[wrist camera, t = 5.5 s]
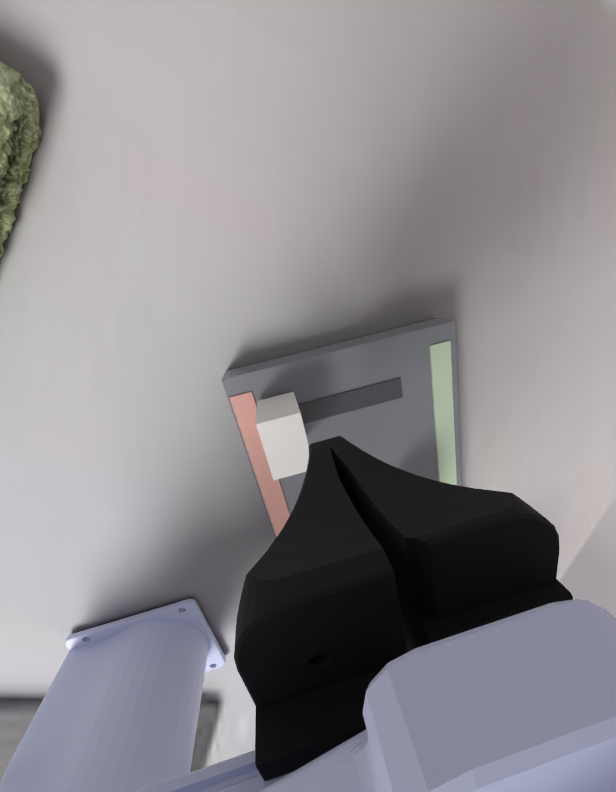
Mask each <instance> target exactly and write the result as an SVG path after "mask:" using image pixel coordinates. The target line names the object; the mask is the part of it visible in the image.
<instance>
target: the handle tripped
mask: <svg viewBox="0 0 616 792" xmlns="http://www.w3.org/2000/svg"><path fill="white" fill-rule="evenodd" d="M256 426H257V430H258V433H259V436H260V439H261V442H262V445H263V449H264V452H265V455H266V458H267V461H268V464H269V468H270V471H271V474H272V477H273V480H278V479H281V478H285V477H288V476H292V475H295V474H299V473H303V472H306V470H307V465H308V459H309V448H308V447H309V444H308V440H307V436H306V432H305V428H304V424H303V420H302V416H301V413H300V409H299V406H298V403H297V400H296V397H295V394H294V392H290V393H286V394H282V395H278V396H274V397H271V398H267V399H263V400H259V401H257V411H256Z"/></svg>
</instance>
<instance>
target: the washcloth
mask: <svg viewBox="0 0 616 792" xmlns="http://www.w3.org/2000/svg"><path fill="white" fill-rule="evenodd" d="M39 115H40V112H39V102H38V100H37V96H36V94H35V91H34V89H33V88H32V86H31V85H30V83H28V82H26V81H25V80H24V79H23V77H22V76H21V75H20V73H19V72H17V71H15V70H14V69H12V68H11V67H9V66H8V65H6V64H4V63H2V62H1V60H0V257H1V256H2V255H3V253H4V247H3V243H4V241H5V240H6V239H7V236H8V233H11V232H12V229H13V227H12V223H13V222H14V221H15V220H16V219H17V218H16V217H15V216H14V214H15V211H14V209H16V208H17V204H18V203H20V198H19V197H20V193H22V192H23V189H22V184H25V183H26V182H27V181H28V177H29V172H30V170H31V169H30V167H29V166H30V164H31V159H32V153H33V151H34V150H36V149H37V148H38V146H39V140H40V138H41V133H42V132H41V129H40V127H39Z"/></svg>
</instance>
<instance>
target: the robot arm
mask: <svg viewBox="0 0 616 792" xmlns="http://www.w3.org/2000/svg"><path fill="white" fill-rule="evenodd" d="M308 448H309V459H308V465H307V470H306V475H305V478H304V482H303V485H302V488H301V491H300V494H299V496H298V499H297V501H296V504H295V506H294V508H293V510H292V512H291V514H290V516H289V518H288V520H287V522H286V523H285V525H284V527H283V528H282V530H281V532H280V533H279V534H278V536H277V537H276V539H275V540H274V542H273V543H272V545H271V546H270V548H269V549H268V550H267V552H266V553H265V554H264V555H263V556H262V558H261V559H260V560H259V561H258V562H257V563H256V565H255V566H254V567H253V568H252V569H251V570H250V571H249V573H248V574H247V575H246V579H245V582H244V586H243V590H242V595H241V600H240V605H239V610H238V616H237V624H236V638H235V652H234V659H235V663H236V667H237V670H238V672H239V674H240V676H241V678H242V680H243V682H244V684H245V686H246V688H247V690H248V692H249V693H250V695H251V697H252V699H253V701H254V703H255V705H256V740H255V750H254V751H251V752H248V753H245V754H243V755H240V756H237V757H234V758H231V759H228V760H225V761H222V762H219V763H217V764H214V765H211V766H208V767H205V768H202V769H199V770H196V771H193V772H191V773H190V768H191V761H192V754H193V748H194V741H195V735H196V728H197V721H198V715H199V708H200V701H201V695H202V688H203V682H204V675H205V672H207V671H210V670H213V669H216V668H220V667H222V666H224V665H225V662H226V657H225V655H224V653H223V651H222V649H221V648H220V646H219V644H218V642H217V640H216V638H215V636H214V634H213V632H212V630H211V628H210V627H209V625H208V623H207V621H206V619H205V617H204V615H203V613H202V611H201V609H200V608H199V606H198V604H197V602H196V601H195V600H194V599H187V600H183V601H180V602H177V603H173V604H170V605H167V606H163V607H160V608H157V609H153V610H150V611H147V612H143V613H140V614H137V615H133V616H130V617H127V618H123V619H120V620H117V621H114V622H110V623H107V624H104V625H100V626H97V627H94V628H90V629H87V630H84V631H80V632H77V633H74V634H71V635H69V636H68V637H67V639H66V641H65V645H66V646H67V648H68V649H69V650H70V651H69V653H68V655H67V657H66V658H65V660H64V662H63V664H62V666H61V668H60V670H59V671H58V673H57V675H56V677H55V679H54V681H53V682H52V684H51V686H50V688H49V690H48V692H47V694H46V695H45V697H44V699H43V701H42V703H41V705H40V706H39V708H38V710H37V712H36V714H35V716H34V718H33V719H32V721H31V723H30V725H29V727H28V729H27V731H26V732H25V734H24V736H23V738H22V740H21V742H20V743H19V745H18V747H17V749H16V751H15V753H14V755H13V756H12V758H11V760H10V762H9V764H8V766H7V768H6V771H5V773H4V775H3V778H2V780H1V783H0V792H616V618H615V617H614V616H613V615H612V614H610V613H609V612H608V611H607V610H606V609H604V608H602V607H600V606H597V605H596V604H594V603H591V602H589V601H586V600H579V599H575V600H572V599H573V597H572V595H571V593H570V592H569V591H568V590H567V589H566V588H565V587H564V586H563V585H562V584H561V583H560V582H559V581H558V580H557V579H556V574H557V565H558V557H559V535H558V533H557V531H556V529H555V527H554V525H553V524H551V523H550V522H549V521H548V520H547V519H546V518H544V517H543V516H542V515H541V514H539V513H538V512H537V511H536V510H534V509H533V508H532V507H531V506H529V505H528V504H527V503H525V502H524V501H523V500H521V499H520V498H519V497H517V496H516V495H514V494H513V493H507V492H499V491H490V490H482V489H474V488H468V487H463V486H458V485H452V484H448V483H443V482H439V481H435V480H432V479H428V478H425V477H421V476H418V475H415V474H412V473H409V472H406V471H404V470H401V469H399V468H396V467H394V466H391V465H389V464H387V463H385V462H383V461H381V460H379V459H377V458H375V457H373V456H371V455H370V454H368V453H366V452H364V451H363V450H361V449H360V448H358V447H356V446H355V445H353V444H352V443H350V442H349V441H347V440H346V439H344V438H343V437H341V436H337V437H333V438H330V439H326V440H322V441H319V442H315V443H312V444H310V445H309V447H308Z"/></svg>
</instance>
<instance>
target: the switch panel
mask: <svg viewBox="0 0 616 792" xmlns="http://www.w3.org/2000/svg"><path fill="white" fill-rule="evenodd" d="M222 382H223V385H224V388H225V391H226V394H227V397H228V400H229V403H230V406H231V408H232V411H233V414H234V417H235V420H236V423H237V426H238V429H239V432H240V435H241V438H242V441H243V444H244V446H245V449H246V452H247V455H248V458H249V461H250V464H251V467H252V470H253V473H254V476H255V479H256V482H257V485H258V487H259V490H260V493H261V496H262V499H263V502H264V505H265V508H266V511H267V514H268V517H269V520H270V523H271V526H272V528H273V531H274V534H275V537H277V536H278V534H279V533H280V532H281V530H282V528H283V527H284V525H285V523H286V522H287V520H288V518H289V516H290V514H291V512H292V510H293V508H294V506H295V504H296V501H297V499H298V496H299V494H300V491H301V488H302V485H303V482H304V478H305V475H306V472H303V473H299V474H295V475H292V476H288V477H285V478H281V479H278V480H273V477H272V474H271V471H270V468H269V464H268V461H267V458H266V455H265V452H264V449H263V445H262V442H261V439H260V436H259V433H258V430H257V426H256V411H257V401H259V400H263V399H267V398H271V397H274V396H278V395H282V394H286V393H290V392H294V394H295V397H296V400H297V403H298V406H299V409H300V413H301V416H302V420H303V424H304V428H305V432H306V436H307V440H308V444H309V445H310V444H312V443H315V442H319V441H322V440H326V439H330V438H333V437H337V436H341V437H343V438H344V439H346V440H347V441H349V442H350V443H352V444H353V445H355V446H356V447H358V448H360V449H361V450H363V451H364V452H366V453H368V454H370V455H371V456H373V457H375V458H377V459H379V460H381V461H383V462H385V463H387V464H389V465H391V466H394V467H396V468H399V469H401V470H404V471H406V472H409V473H412V474H415V475H418V476H421V477H425V478H428V479H432V480H435V481H439V482H443V483H448V484H452V485H458V486H462V484H461V457H460V430H459V403H458V376H457V349H456V322H455V321H452V320H445V319H437V318H434V319H430V320H426V321H422V322H418V323H414V324H410V325H406V326H402V327H398V328H394V329H390V330H386V331H382V332H378V333H374V334H370V335H366V336H362V337H358V338H354V339H350V340H346V341H342V342H338V343H334V344H330V345H326V346H322V347H318V348H314V349H310V350H306V351H302V352H298V353H294V354H290V355H286V356H282V357H278V358H275V359H271V360H267V361H263V362H259V363H255V364H251V365H247V366H243V367H239V368H235V369H231V370H227V371H226V372H225V374H224V376H223V378H222Z"/></svg>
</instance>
